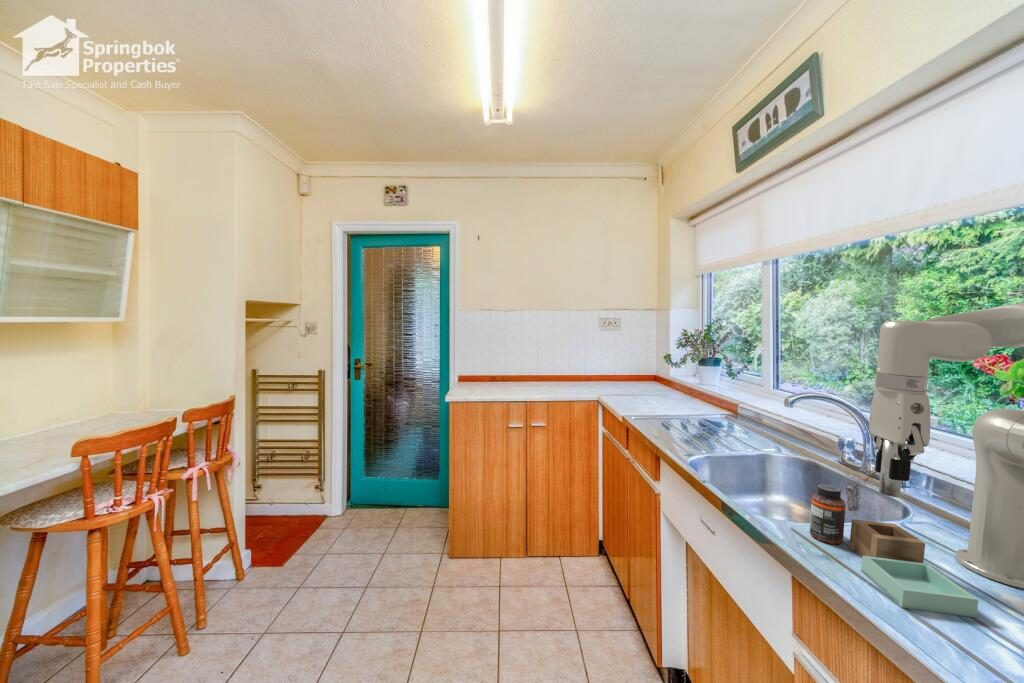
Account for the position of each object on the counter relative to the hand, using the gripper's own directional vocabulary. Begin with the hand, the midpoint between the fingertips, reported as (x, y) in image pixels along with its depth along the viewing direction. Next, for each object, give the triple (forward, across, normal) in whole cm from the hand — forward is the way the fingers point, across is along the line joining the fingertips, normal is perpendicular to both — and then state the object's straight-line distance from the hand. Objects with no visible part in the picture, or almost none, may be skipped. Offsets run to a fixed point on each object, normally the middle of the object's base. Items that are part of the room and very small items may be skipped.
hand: (891, 475), depth 85 cm
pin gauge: (+4, 0, 0) cm, 4 cm away
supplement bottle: (+17, +7, +7) cm, 20 cm away
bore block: (+17, 0, 0) cm, 17 cm away
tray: (+17, -11, +2) cm, 21 cm away
